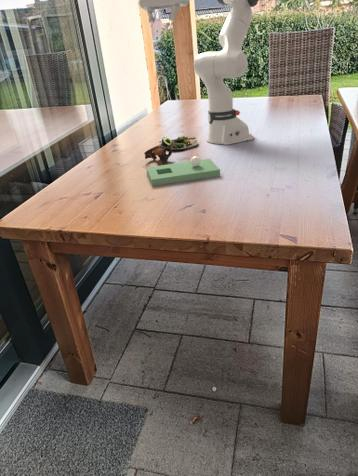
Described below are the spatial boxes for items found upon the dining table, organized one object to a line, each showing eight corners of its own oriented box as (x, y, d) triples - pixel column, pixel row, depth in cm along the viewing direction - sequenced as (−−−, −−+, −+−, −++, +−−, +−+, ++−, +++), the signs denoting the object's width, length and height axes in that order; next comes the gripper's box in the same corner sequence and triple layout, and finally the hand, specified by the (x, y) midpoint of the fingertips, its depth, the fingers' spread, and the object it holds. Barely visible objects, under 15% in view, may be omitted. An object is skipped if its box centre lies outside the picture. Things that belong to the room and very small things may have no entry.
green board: (209, 164, 154) (209, 158, 153) (220, 175, 142) (219, 169, 141) (147, 173, 150) (146, 167, 149) (152, 186, 138) (151, 179, 137)
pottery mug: (152, 169, 156) (143, 151, 155) (149, 172, 165) (141, 155, 164) (178, 157, 158) (169, 139, 157) (173, 160, 167) (165, 143, 166)
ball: (199, 164, 148) (199, 154, 146) (202, 167, 144) (201, 157, 142) (189, 165, 147) (189, 155, 145) (192, 168, 144) (191, 158, 142)
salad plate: (186, 138, 193) (186, 129, 190) (207, 145, 179) (207, 135, 177) (154, 146, 184) (153, 137, 182) (173, 154, 171) (172, 144, 168)
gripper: (195, -24, 126) (190, 22, 130) (150, -16, 138) (146, 26, 141) (184, -32, 121) (179, 16, 125) (138, -23, 133) (134, 20, 136)
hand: (161, 21), depth 133 cm, fingers open, 8 cm apart
